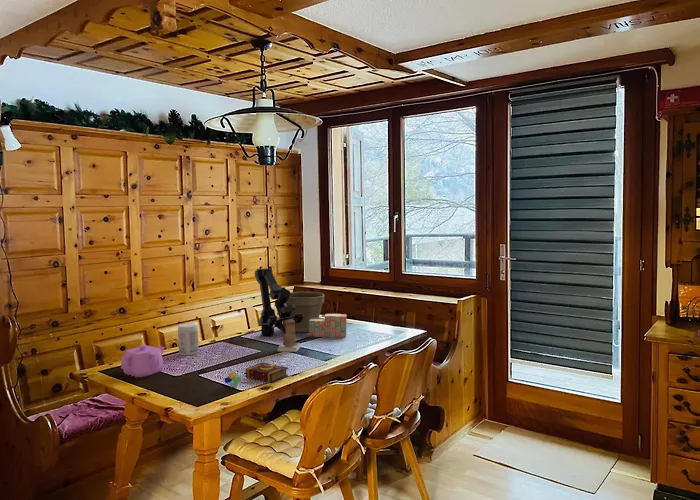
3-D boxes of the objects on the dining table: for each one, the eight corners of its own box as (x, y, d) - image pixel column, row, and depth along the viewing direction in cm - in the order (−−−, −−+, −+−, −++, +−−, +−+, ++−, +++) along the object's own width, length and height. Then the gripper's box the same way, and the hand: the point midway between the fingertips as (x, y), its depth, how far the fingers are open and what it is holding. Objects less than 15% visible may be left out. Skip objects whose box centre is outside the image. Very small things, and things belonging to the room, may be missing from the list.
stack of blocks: (308, 336, 309) (308, 315, 308) (310, 334, 316) (310, 313, 315) (346, 337, 308) (346, 316, 307) (346, 334, 315) (346, 313, 314)
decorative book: (271, 384, 228) (271, 372, 228) (243, 378, 237) (242, 366, 236) (288, 377, 238) (288, 366, 237) (260, 371, 246) (260, 360, 246)
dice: (224, 385, 226) (223, 370, 225) (228, 383, 228) (228, 368, 228) (237, 389, 221) (237, 373, 221) (242, 387, 224) (242, 372, 223)
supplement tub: (197, 350, 281) (196, 322, 280) (199, 354, 272) (198, 326, 271) (178, 351, 278) (177, 323, 276) (179, 356, 269) (178, 327, 267)
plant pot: (307, 323, 344) (307, 289, 342) (332, 329, 326) (332, 294, 324) (275, 329, 327) (274, 294, 326) (299, 336, 309) (299, 299, 307)
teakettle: (120, 379, 234) (119, 351, 233) (126, 368, 251) (125, 341, 250) (161, 376, 238) (160, 349, 237) (165, 365, 255) (164, 339, 254)
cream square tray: (277, 351, 279) (277, 347, 278) (282, 346, 289) (282, 342, 288) (296, 351, 278) (296, 347, 277) (300, 346, 287) (300, 343, 287)
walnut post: (282, 344, 284) (282, 320, 283) (291, 343, 286) (291, 319, 285) (286, 346, 280) (286, 322, 278) (295, 345, 282) (295, 321, 281)
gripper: (268, 301, 280) (276, 326, 271) (302, 298, 289) (310, 322, 280) (264, 313, 288) (271, 338, 279) (296, 310, 296) (304, 334, 288)
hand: (289, 333), depth 281 cm, fingers closed on walnut post, 5 cm apart
